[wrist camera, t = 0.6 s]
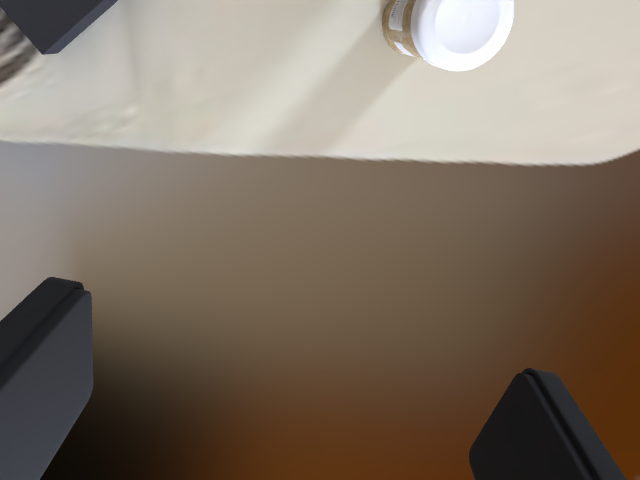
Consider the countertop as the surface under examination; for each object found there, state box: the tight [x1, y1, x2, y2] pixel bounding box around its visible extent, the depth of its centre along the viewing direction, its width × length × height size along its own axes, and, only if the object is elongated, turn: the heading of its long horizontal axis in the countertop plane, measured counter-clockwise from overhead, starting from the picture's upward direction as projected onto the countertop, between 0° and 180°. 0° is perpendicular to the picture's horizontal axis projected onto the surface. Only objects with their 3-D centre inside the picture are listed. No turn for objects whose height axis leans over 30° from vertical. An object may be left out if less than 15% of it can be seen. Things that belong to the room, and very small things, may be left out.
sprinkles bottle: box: [382, 0, 514, 71], centre depth 25 cm, size 5×5×13 cm
